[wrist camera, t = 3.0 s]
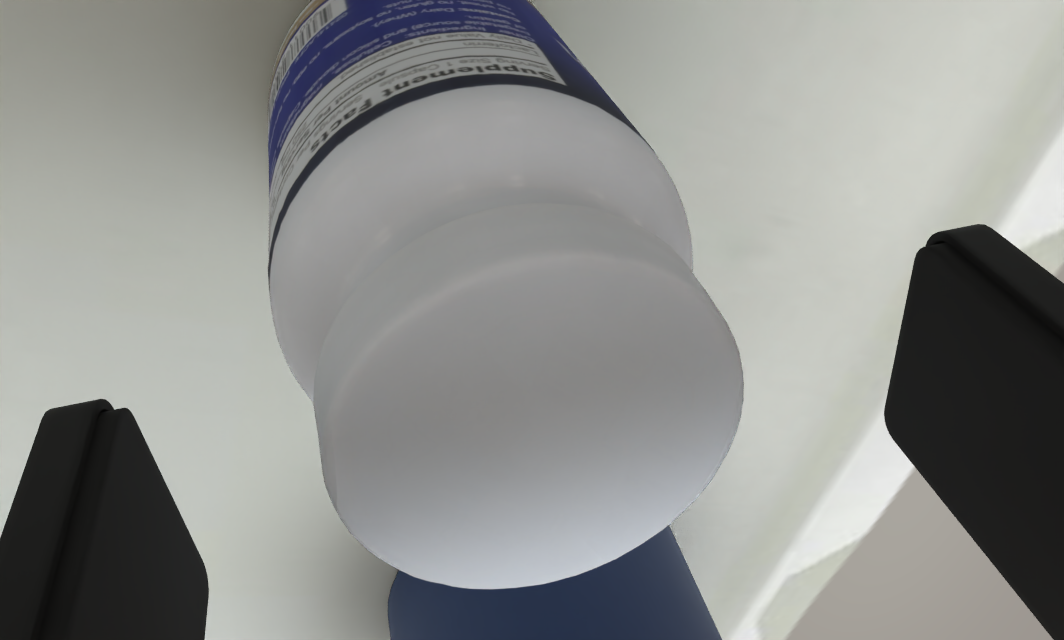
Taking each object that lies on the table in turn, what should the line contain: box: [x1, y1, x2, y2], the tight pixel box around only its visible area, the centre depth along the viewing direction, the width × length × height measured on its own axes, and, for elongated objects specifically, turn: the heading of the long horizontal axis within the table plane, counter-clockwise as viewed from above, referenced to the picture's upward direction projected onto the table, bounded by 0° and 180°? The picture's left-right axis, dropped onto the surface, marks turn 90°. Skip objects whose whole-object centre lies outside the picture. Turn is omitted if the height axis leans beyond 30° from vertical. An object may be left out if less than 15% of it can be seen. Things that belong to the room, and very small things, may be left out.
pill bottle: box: [268, 0, 744, 589], centre depth 13 cm, size 6×6×10 cm
